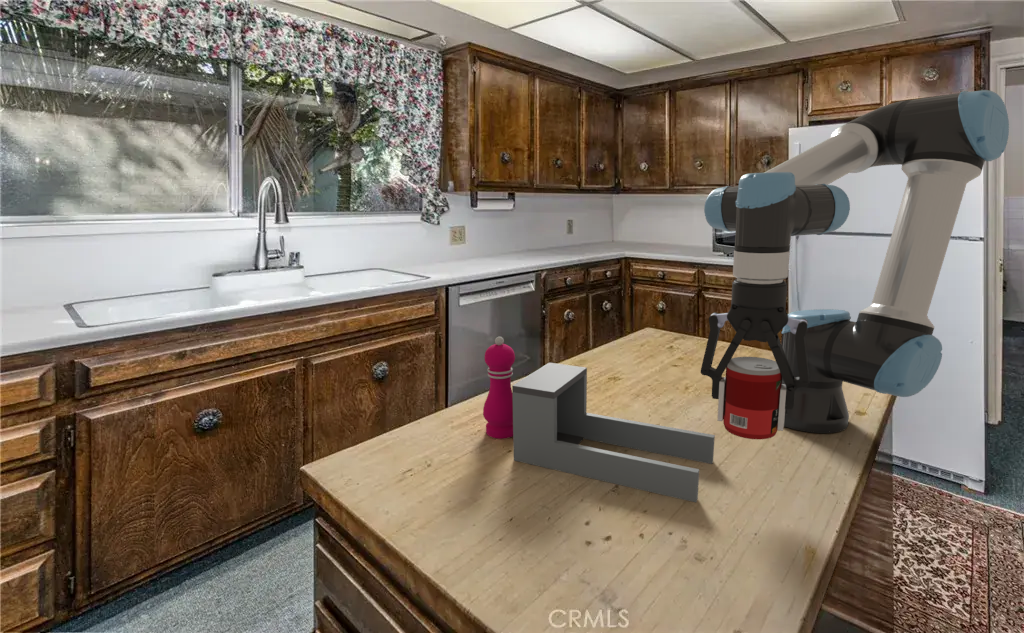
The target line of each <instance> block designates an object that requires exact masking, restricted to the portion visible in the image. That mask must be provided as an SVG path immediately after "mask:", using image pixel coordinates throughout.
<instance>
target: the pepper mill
mask: <svg viewBox="0 0 1024 633" xmlns="http://www.w3.org/2000/svg"><path fill="white" fill-rule="evenodd" d="M504 342H505V339H504V337H502V336H497V337H496V338H495V339H494V344H492V345H490V346H489V347H488V348H486V350H485V352H484V362H485V364H486V365H487V366H488V368H487V369H486V370H487V376H488V378H489V390H488V394H487V395H486V396H487V397H486V399H485V401H484V404H483V410H482V412H483V413H482V415H483V418H484V419H485V421H486V422H487V423H486V424H485V433H486V435H487V436H488V437H490V438H492V439H501V440H502V439H508V438H511V437H512V438H513V394H512V384H511V382H512V378H511V377H512V376H513V375H514V373H513V370H514V368H513V367H512V366H513V365H514V364H515V360H516V355H515V351H514V349H513V348H512V347H511V346H509V345H508V344H505V343H504Z"/></svg>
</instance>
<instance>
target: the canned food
mask: <svg viewBox="0 0 1024 633" xmlns="http://www.w3.org/2000/svg"><path fill="white" fill-rule="evenodd" d="M725 377H726V379H725V400H724V419H723V421H722V423H723V426H724V428H725V431H727V432H728V433H730V434H731V435H734V436H736V437H739V438H743V439H748V440H767V439H771V438H773V437H775V436H776V434H777V432H778V431H779V430H778V417H779V403H780V390H781V386H782V375H781V373H780V369H779V368H778V365H777V363H776V360H775V359H770V358H764V357H758V356H757V357H756V356H737V357H732V358H731V360H730V362H729V363H728V365H727V367H726V369H725Z"/></svg>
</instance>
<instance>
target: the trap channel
mask: <svg viewBox="0 0 1024 633" xmlns="http://www.w3.org/2000/svg"><path fill="white" fill-rule="evenodd" d="M587 379H588V367H585V366H579V365H578V366H577V365H571V364H570V365H569V364H562V363H555V362H548V363H546V364H545V365H543V366H541V367H540V368H538V369H536V370H535V371H533V372H531V373H530V374H529V375H527V376H526V377H524V378H522V379H520V380H519V381H517V382H516V383H514V384H513V385H511V389H512V394H513V436H512V438H513V443H512V444H513V461H515V462H520V463H524V464H527V465H533V466H537V467H542V468H545V469H550V470H554V471H559V472H563V473H568V474H571V475H576V476H580V477H585V478H590V479H592V480H593V479H594V480H597V481H601V482H606V483H611V484H613V485H615V484H616V485H619V486H624V487H628V488H632V489H636V490H640V491H645V492H649V493H654V494H657V495H662V496H666V497H670V498H675V499H679V500H683V501H684V500H685V501H689V502H692V503H697V501H698V498H699V484H700V483H699V482H700V481H699V480H700V469H699V468H695V467H691V466H690V467H689V466H684V465H679V464H674V463H669V462H664V461H661V460H655V459H650V458H646V457H645V458H644V457H641V456H636V455H635V456H634V455H631V454H627V453H621V452H616V451H611V450H606V449H601V448H596V447H592V446H587V445H582V444H581V442H582V441H584V440H588V441H594V442H598V443H603V444H609V445H614V446H619V447H624V448H628V449H635V450H639V451H643V452H649V453H654V454H660V455H664V456H670V457H675V458H678V459H679V458H680V459H685V460H689V461H695V462H700V463H705V464H710V465H712V464H713V463H714V455H715V454H714V453H715V452H714V451H715V438H716V437H715V436H716V434H710V433H706V432H700V431H694V430H687V429H682V428H676V427H670V426H665V425H660V424H654V423H647V422H641V421H635V420H629V419H626V418H619V417H614V416H607V415H602V414H597V413H591V412H587V399H588V398H587V397H588V396H587V393H588V392H587V389H588V388H587V387H588V386H587V385H588V380H587Z"/></svg>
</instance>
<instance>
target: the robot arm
mask: <svg viewBox="0 0 1024 633" xmlns="http://www.w3.org/2000/svg"><path fill="white" fill-rule="evenodd" d="M1009 131H1010V122H1009V113H1008V111H1007V107H1006V104H1005V102H1004V100H1003V99H1002V97H1001V95H999V94H998V93H997V92H995V91H992V90H988V89H983V90H976V91H975V90H974V91H967V90H964V91H961V92H958V93H957V92H956V93H949V94H945V95H937V96H930V97H923V98H917V99H916V98H915V99H907V100H900V101H896V102H893V103H889V104H887V105H883V106H881V107H878V108H876V109H874V110H872V111H869V112H867V113H865V114H862V115H860V116H859V117H857V118H854V119H852V120H851V121H848V122H847V123H844V124H843V125H841V126H839V127H838V128H836V129H835V130H834V131H833V132H832V133H831V135H830V137H829V138H827V139H825V140H823V141H822V142H820V143H817V144H816V145H814V146H813V147H810V148H809V149H806V150H804V151H803V152H801V153H799V154H797V155H795V156H793V157H791V158H790V159H787V160H786V161H784V162H782V163H780V164H778V165H776V166H774V167H773V168H770V169H768V170H766V171H765V172H754V173H753V172H752V173H746V174H743V175H742V176H741V177H740V178H739V181H738V185H736V186H731V185H726V186H723V187H717V188H715V189H713V190H712V191H711V192H710V193H709V194H708V196H707V197H706V199H705V202H704V208H703V209H704V212H703V213H704V216H705V220H706V222H707V224H708V225H709V226H710V227H711V228H713V229H716V230H723V231H726V232H735V236H734V238H735V239H734V240H735V241H734V250H733V260H732V261H733V262H732V263H733V264H732V265H733V266H732V276H733V277H734V278H736V279H734V280H733V281H732V282H731V283H732V285H731V286H732V287H731V298H730V299H731V301H730V302H731V303H730V308H729V310H728V312H725V313H724V312H723V313H718V312H713V313H711V314H710V315H709V318H708V325H709V333H708V338H707V341H706V346H705V351H704V354H703V355H704V356H703V359H702V363H701V367H700V374H701V376H706V377H709V378H710V379H711V397H712V399H713V400H718V402H717V421H718V422H723V420H724V400H725V379H726V376H723V374H724V372H726V367H727V365H728V363H729V362H730V360H731V359H732V358H734V357H733V356H734V354H735V353H736V351H737V349H738V348H739V346H740V344H741V342H742V341H748V342H751V341H757V342H760V343H767V344H768V347H769V349H770V350H771V353H772V355H773V358H774V361H776V363H777V365H778V368H779V369H780V373H781V375H782V386H781V390H780V403H779V417H778V430H777V431H781V432H783V431H784V427H785V428H788V429H792V430H796V431H800V432H806V433H814V434H831V433H832V434H833V433H838V432H839V433H840V432H842V431H844V430H846V429H847V428H848V426H849V420H850V419H849V418H850V413H849V410H848V406H847V402H846V399H845V395H844V391H843V382H844V383H848V384H851V385H855V386H858V387H862V388H864V389H868V390H871V391H876V392H877V393H879V394H885V395H887V394H888V395H891V396H895V397H899V398H909V397H912V396H915V395H917V394H919V393H920V392H921V391H922V390H924V389H925V388H926V387H927V386H928V385H929V384H930V383H931V382H932V380H933V379H934V377H935V375H936V374H937V372H938V370H939V367H940V365H941V361H942V358H943V353H942V350H943V345H942V342H941V341H940V339H939V338H937V337H936V336H935V335H933V333H934V330H935V326H934V324H933V322H931V320H930V319H929V317H928V314H929V310H930V307H931V304H932V301H933V297H934V293H935V291H936V287H937V284H938V280H939V276H940V274H941V270H942V266H943V263H944V259H945V257H946V253H947V251H948V247H949V244H950V241H951V236H952V233H953V230H954V228H955V223H956V221H957V217H958V214H959V209H960V207H961V204H962V201H963V196H964V194H965V191H966V186H967V184H968V183H970V182H971V181H974V180H975V179H976V178H978V177H979V176H981V174H982V171H983V168H984V165H985V162H992V161H995V160H998V159H999V158H1000V157H1001V156H1002V154H1003V153H1004V152H1005V150H1006V147H1007V144H1008V140H1009ZM891 165H892V166H893V165H894V166H895V165H898V166H899V165H901V171H903V173H904V174H905V175H906V177H907V181H906V185H905V188H904V192H903V194H902V199H901V202H900V206H899V208H898V213H897V215H896V219H895V223H894V226H893V230H892V233H891V236H890V239H889V243H888V245H887V250H886V252H885V257H884V260H883V264H882V267H881V270H880V274H879V277H878V281H877V284H876V287H875V290H874V294H873V299H872V300H871V304H870V305H869V306H868V307H865V308H863V309H862V310H860V311H859V312H858V316H857V319H856V321H851V318H852V316H851V314H850V312H849V311H847V310H845V309H833V308H832V309H824V308H823V309H821V308H820V309H803V310H802V309H801V310H796V311H792V312H790V313H788V312H787V310H786V307H787V306H786V305H787V294H788V293H787V292H788V283H787V282H786V280H784V279H787V278H788V276H789V266H790V255H791V253H790V252H791V239H792V237H795V236H796V237H797V236H809V235H810V236H811V235H817V236H820V235H823V234H826V233H832V232H834V231H837V230H838V229H839V228H841V227H842V226H843V225H844V224H845V222H846V221H847V219H848V217H849V216H850V211H851V210H850V209H851V207H850V206H851V202H850V199H849V196H848V195H847V193H846V191H844V189H842V188H840V187H839V186H837V185H833V184H832V183H833V182H836V181H837V180H839V179H841V178H842V177H844V176H846V175H849V174H857V173H862V172H864V171H866V170H868V169H869V168H872V167H879V166H880V167H881V166H891ZM726 321H727V322H729V324H730V325H731V326H732V328H733V330H734V331H735V332H736V333H735V334H734V336H733V338H732V340H731V341H730V344H729V345H728V347H727V349H726V350H725V352H724V354H723V356H722V357H721V359H720V361H719V363H718V364H717V367H716V368H715V367H712V365H713V360H714V358H715V353H716V348H717V345H718V341H719V336H720V334H721V329H722V328H723V327H724V326H725V324H726ZM781 330H782V331H781ZM780 332H781V340H780V337H779V333H780Z"/></svg>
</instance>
